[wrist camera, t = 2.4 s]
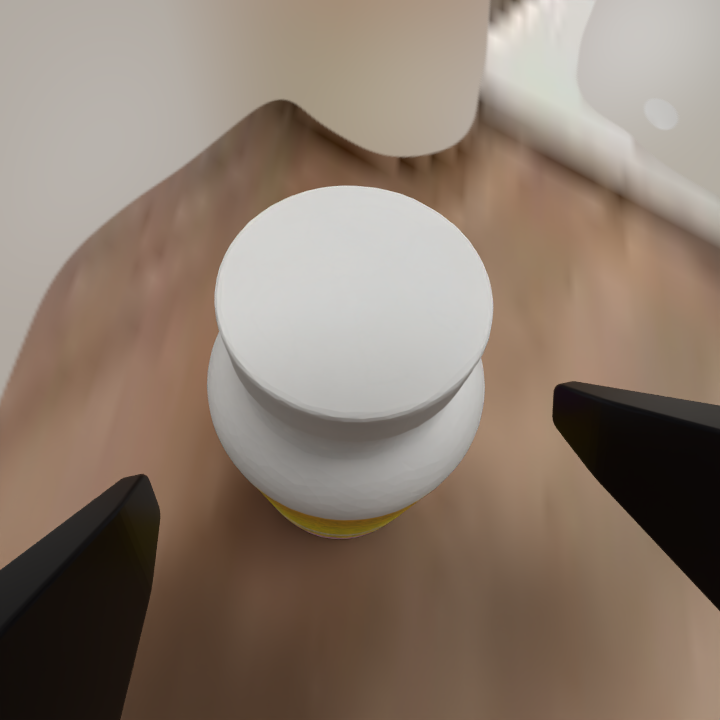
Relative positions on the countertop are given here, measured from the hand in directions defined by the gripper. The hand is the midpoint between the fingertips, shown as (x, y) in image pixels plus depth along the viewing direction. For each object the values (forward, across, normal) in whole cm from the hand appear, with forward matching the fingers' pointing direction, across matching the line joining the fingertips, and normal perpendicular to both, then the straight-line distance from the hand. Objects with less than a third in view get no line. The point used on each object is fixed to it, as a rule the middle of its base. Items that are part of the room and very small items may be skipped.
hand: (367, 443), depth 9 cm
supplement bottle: (+8, 0, +6) cm, 10 cm away
